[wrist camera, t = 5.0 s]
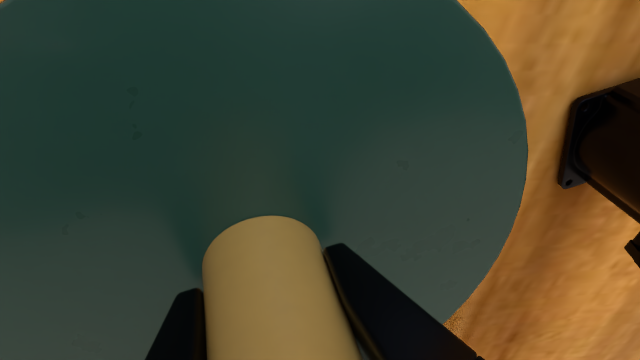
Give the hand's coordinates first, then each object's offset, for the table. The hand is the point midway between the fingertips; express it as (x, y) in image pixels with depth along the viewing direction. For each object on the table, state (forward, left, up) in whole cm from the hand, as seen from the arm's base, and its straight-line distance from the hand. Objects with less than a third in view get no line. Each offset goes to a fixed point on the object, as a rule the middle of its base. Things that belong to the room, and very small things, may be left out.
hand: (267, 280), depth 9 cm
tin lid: (0, 0, -1) cm, 1 cm away
